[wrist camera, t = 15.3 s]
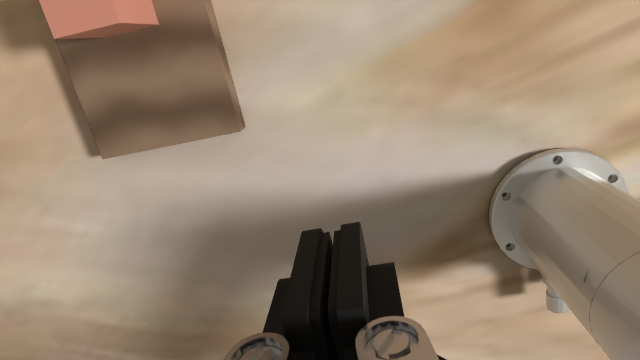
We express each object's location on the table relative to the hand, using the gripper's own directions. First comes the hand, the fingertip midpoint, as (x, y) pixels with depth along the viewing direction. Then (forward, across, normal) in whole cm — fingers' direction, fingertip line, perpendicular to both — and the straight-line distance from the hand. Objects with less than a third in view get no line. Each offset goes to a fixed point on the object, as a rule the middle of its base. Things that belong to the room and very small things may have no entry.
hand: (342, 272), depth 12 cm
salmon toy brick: (+27, +17, -13) cm, 34 cm away
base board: (+29, +17, -9) cm, 35 cm away
